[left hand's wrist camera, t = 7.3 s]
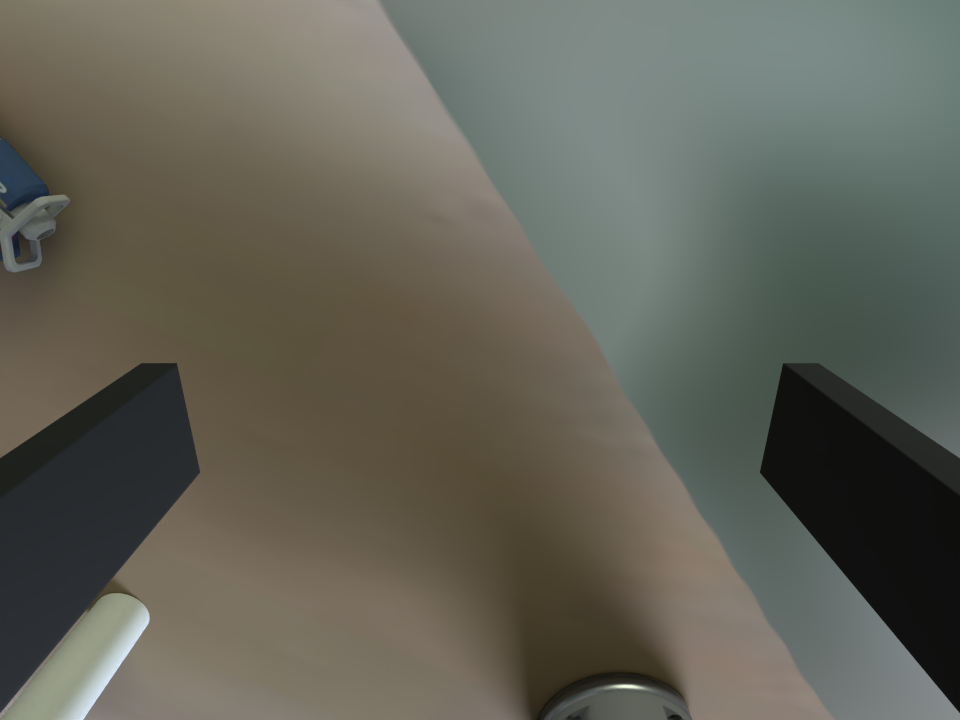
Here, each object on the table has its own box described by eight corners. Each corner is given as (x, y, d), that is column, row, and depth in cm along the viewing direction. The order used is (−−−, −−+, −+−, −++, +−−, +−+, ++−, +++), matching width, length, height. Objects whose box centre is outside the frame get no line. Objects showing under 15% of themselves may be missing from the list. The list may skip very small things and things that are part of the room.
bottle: (125, 585, 50) (-69, 830, 32) (160, 621, 52) (-6, 874, 34) (84, 605, 51) (-127, 854, 33) (120, 639, 52) (-63, 896, 35)
